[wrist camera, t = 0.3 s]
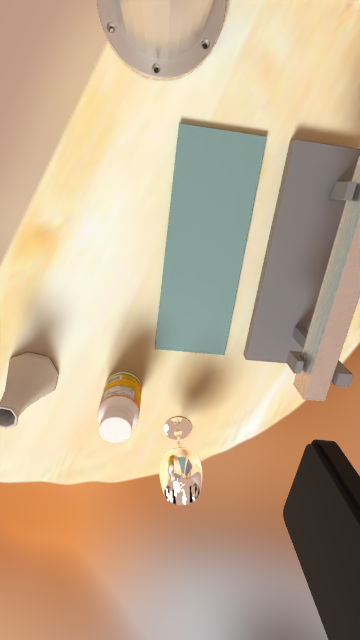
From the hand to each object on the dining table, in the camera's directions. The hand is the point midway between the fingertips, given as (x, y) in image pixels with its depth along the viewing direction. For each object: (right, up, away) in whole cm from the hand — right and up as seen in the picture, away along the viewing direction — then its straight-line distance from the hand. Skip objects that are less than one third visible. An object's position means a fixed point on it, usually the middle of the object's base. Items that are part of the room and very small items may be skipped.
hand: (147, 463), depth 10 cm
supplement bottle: (-8, -6, +40) cm, 41 cm away
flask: (-20, -4, +39) cm, 44 cm away
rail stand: (+16, +12, +35) cm, 40 cm away
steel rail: (+17, +8, +25) cm, 31 cm away
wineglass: (+1, -13, +44) cm, 46 cm away
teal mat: (+4, +13, +33) cm, 36 cm away
